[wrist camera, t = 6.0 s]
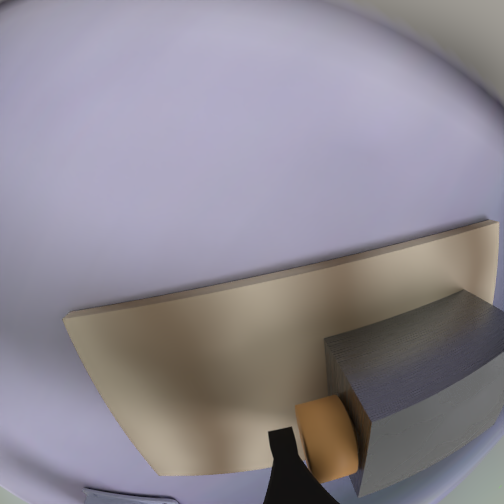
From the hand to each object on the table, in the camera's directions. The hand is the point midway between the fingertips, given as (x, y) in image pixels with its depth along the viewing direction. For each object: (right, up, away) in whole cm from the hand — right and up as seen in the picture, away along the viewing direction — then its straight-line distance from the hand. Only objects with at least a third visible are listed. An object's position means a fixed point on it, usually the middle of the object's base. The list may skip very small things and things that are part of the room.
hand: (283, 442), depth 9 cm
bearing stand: (+2, +1, +3) cm, 4 cm away
